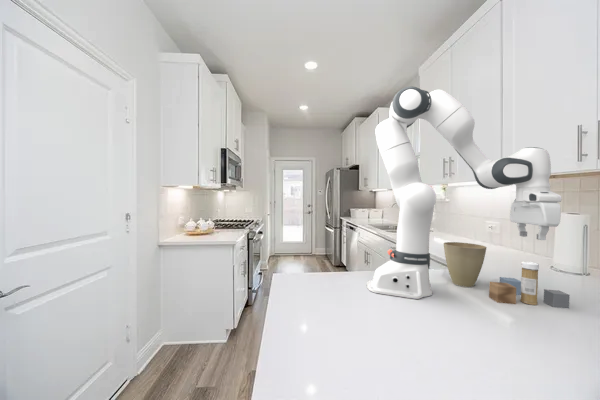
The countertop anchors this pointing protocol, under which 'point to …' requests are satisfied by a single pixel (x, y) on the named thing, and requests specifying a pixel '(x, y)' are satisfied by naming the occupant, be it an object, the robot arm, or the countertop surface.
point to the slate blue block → (512, 283)
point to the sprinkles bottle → (529, 282)
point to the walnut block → (502, 292)
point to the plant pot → (464, 262)
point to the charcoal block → (556, 298)
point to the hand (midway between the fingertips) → (531, 238)
